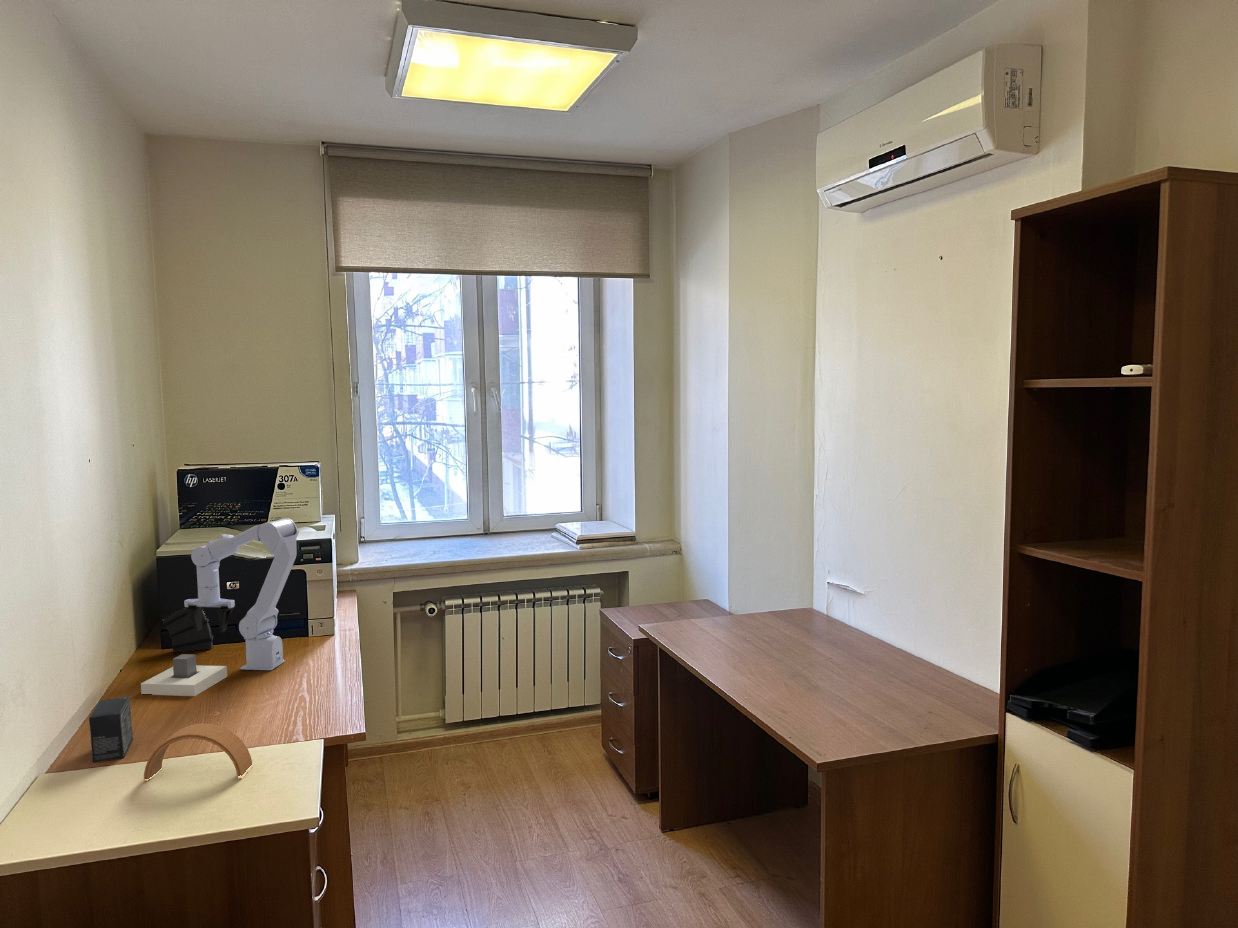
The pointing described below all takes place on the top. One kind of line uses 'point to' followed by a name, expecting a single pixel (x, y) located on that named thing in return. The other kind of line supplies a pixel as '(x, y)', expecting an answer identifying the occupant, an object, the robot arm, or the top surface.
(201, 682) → the socket
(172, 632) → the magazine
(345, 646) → the top surface
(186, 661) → the plug
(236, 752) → the brown half-ring arch
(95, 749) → the small box
